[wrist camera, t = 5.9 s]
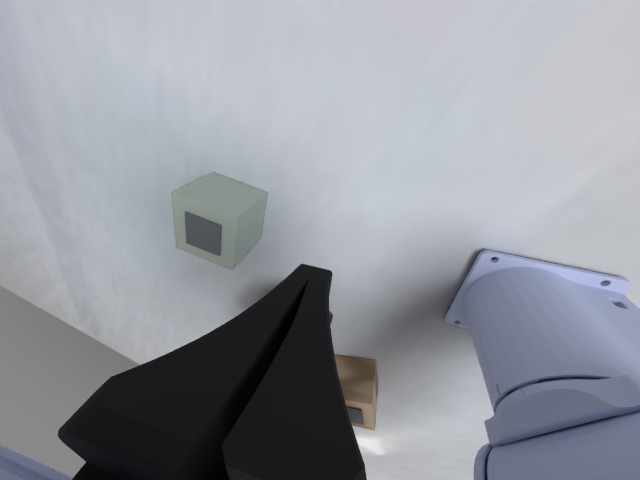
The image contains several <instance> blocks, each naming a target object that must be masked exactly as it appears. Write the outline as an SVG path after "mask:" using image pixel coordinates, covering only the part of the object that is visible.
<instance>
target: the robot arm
mask: <svg viewBox="0 0 640 480" xmlns="http://www.w3.org/2000/svg"><path fill="white" fill-rule="evenodd" d="M493 257H497V258H496V259H494V260H491V258H493ZM331 280H332V272H331V271H330V270H326V269H322V268H317V267H313V266H309V265H305V264H301V265H299V266H298V267H297V268H296V269H295V270H294V271H293V272H292V273H291V274H290V275H289V276H288V277H287V278H286V279H285V280H283V281H282V282H281V283H280V284H279V285H278V286H276V287H275V288H274V289H273V290H272V291H270V292H269V293H268V294H267V295H266V296H264V297H263V298H262V299H260V300H259V301H258V302H256V303H255V304H254V305H252V306H251V307H249V308H248V309H247V310H245V311H244V312H242V313H241V314H239V315H238V316H236V317H235V318H233V319H232V320H230V321H228V322H227V323H225V324H223V325H222V326H220V327H218V328H216V329H215V330H213V331H211V332H210V333H208V334H206V335H204V336H202V337H200V338H199V339H197V340H195V341H193V342H191V343H189V344H186V345H184V346H182V347H180V348H178V349H176V350H174V351H172V352H170V353H168V354H166V355H163V356H161V357H159V358H157V359H154V360H152V361H149V362H147V363H145V364H142V365H140V366H137V367H135V368H132V369H130V370H127V371H125V372H123V373H120V374H117V375H115V376H112V377H110V378H109V379H108V380H107V381H106V382H105V383H104V384H103V385H102V386H101V387H100V388H99V389H98V390H97V391H96V392H95V393H94V394H93V395H92V396H91V397H90V398H89V399H88V400H87V401H86V402H85V403H84V404H83V405H82V406H81V407H80V408H79V409H78V410H77V411H76V412H75V413H74V414H73V415H72V417H71V418H70V419H69V420H68V421H67V422H66V423H65V424H64V425H63V426H62V427H61V428H60V429H59V431H58V436H59V438H60V439H61V441H63V442H64V443H65V444H66V445H67V446H68V447H69V448H71V449H72V450H73V451H74V452H76V453H77V454H78V455H79V456H80V457H81V458H83V459H84V460H85V461H86V463H85V464H84V466H83V467H82V468H81V469H80V471H79V472H78V473H77V474H76V475H75V477H74V478H73V477H70V476H68V475H66V474H64V473H62V472H60V471H57V470H55V469H53V468H50V467H49V466H46V465H44V464H42V463H40V462H38V461H35V460H33V459H31V458H29V457H27V456H25V455H22V454H20V453H18V452H16V451H14V450H12V449H9V448H7V447H5V446H3V445H1V444H0V480H367V479H366V472H365V465H364V462H363V459H362V456H361V453H360V450H359V447H358V444H357V440H356V437H355V434H354V431H353V428H352V424H351V421H350V417H349V414H348V411H347V407H346V404H345V400H344V396H343V392H342V388H341V383H340V379H339V375H338V371H337V366H336V361H335V356H334V350H333V344H332V337H331V329H330V318H329V293H330V286H331ZM605 280H606V281H605ZM602 281H605V282H602ZM631 287H632V283H631V282H630V281H629V280H628V279H626V278H622V277H617V276H612V275H607V274H602V273H597V272H593V271H588V270H583V269H578V268H573V267H568V266H563V265H559V264H554V263H549V262H544V261H539V260H534V259H529V258H525V257H520V256H515V255H510V254H505V253H500V252H495V251H490V250H484V251H482V252H480V253H479V255H478V257H477V258H476V260H475V262H474V264H473V266H472V268H471V270H470V271H469V273H468V275H467V277H466V279H465V281H464V282H463V284H462V286H461V288H460V290H459V292H458V294H457V295H456V297H455V299H454V301H453V303H452V305H451V306H450V308H449V310H448V312H447V314H446V316H445V322H446V323H447V324H450V325H454V326H457V327H461V328H465V329H469V330H470V332H471V336H472V339H473V342H474V346H475V349H476V353H477V356H478V360H479V363H480V366H481V370H482V373H483V377H484V380H485V384H486V387H487V391H488V394H489V397H490V401H491V404H492V408H493V411H494V416H493V417H492V418H490V419H488V420H486V421H484V423H485V427H486V430H487V434H488V438H489V442H490V443H488V444H486V445H484V446H482V447H481V449H480V450H479V451H478V453H477V455H476V458H475V463H474V480H640V309H639V308H638V307H637V306H636V305H634V304H633V303H632V302H631V301H630V300H629V299H628V298H627V297H626V296H625V295H624V294H625V293H626V292H627V291H628V290H629V289H630V288H631Z"/></svg>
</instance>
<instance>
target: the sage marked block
mask: <svg viewBox="0 0 640 480" xmlns="http://www.w3.org/2000/svg"><path fill="white" fill-rule="evenodd" d="M267 196H268V192H267V191H264V190H261V189H259V188H256V187H253V186H251V185H248V184H245V183H243V182H240V181H237V180H235V179H232V178H229V177H227V176H224V175H222V174H219V173H216V172H213V173H211V174H209V175H207V176H205V177H203V178H200V179H198V180H196V181H194V182H192V183H190V184H188V185H186V186H184V187H182V188H179V189H177V190H175V191H173V192H172V203H173V215H174V227H175V238H176V248H179V249H181V250H184V251H186V252H189V253H191V254H194V255H196V256H199V257H201V258H203V259H206V260H208V261H211V262H213V263H216V264H218V265H221V266H223V267H226V268H228V269H231V270H233V269H234V268H235V267H236V266H237V265H238V264H239V263H240V261H241V260H242V259H243V258H244V257H245V256H246V255H247V254H248V252H249V251H250V250H251V249H252V248H253V247H254V246H255V245H256V243H257V242H258V241H259V240H260V239H261V233H262V227H263V221H264V215H265V208H266V202H267Z"/></svg>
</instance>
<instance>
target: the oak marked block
mask: <svg viewBox="0 0 640 480" xmlns="http://www.w3.org/2000/svg"><path fill="white" fill-rule="evenodd" d="M334 356H335V361H336V366H337V371H338V375H339V379H340V383H341V388H342V392H343V396H344V400H345V404H346V407H347V411H348V414H349V417H350V421H351V424H352V425H353V426H357V427H362V428H366V429H371V430H375V423H376V409H377V395H378V378H377V366H376V360H373V359H365V358H358V357H350V356H343V355H335V354H334Z"/></svg>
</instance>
